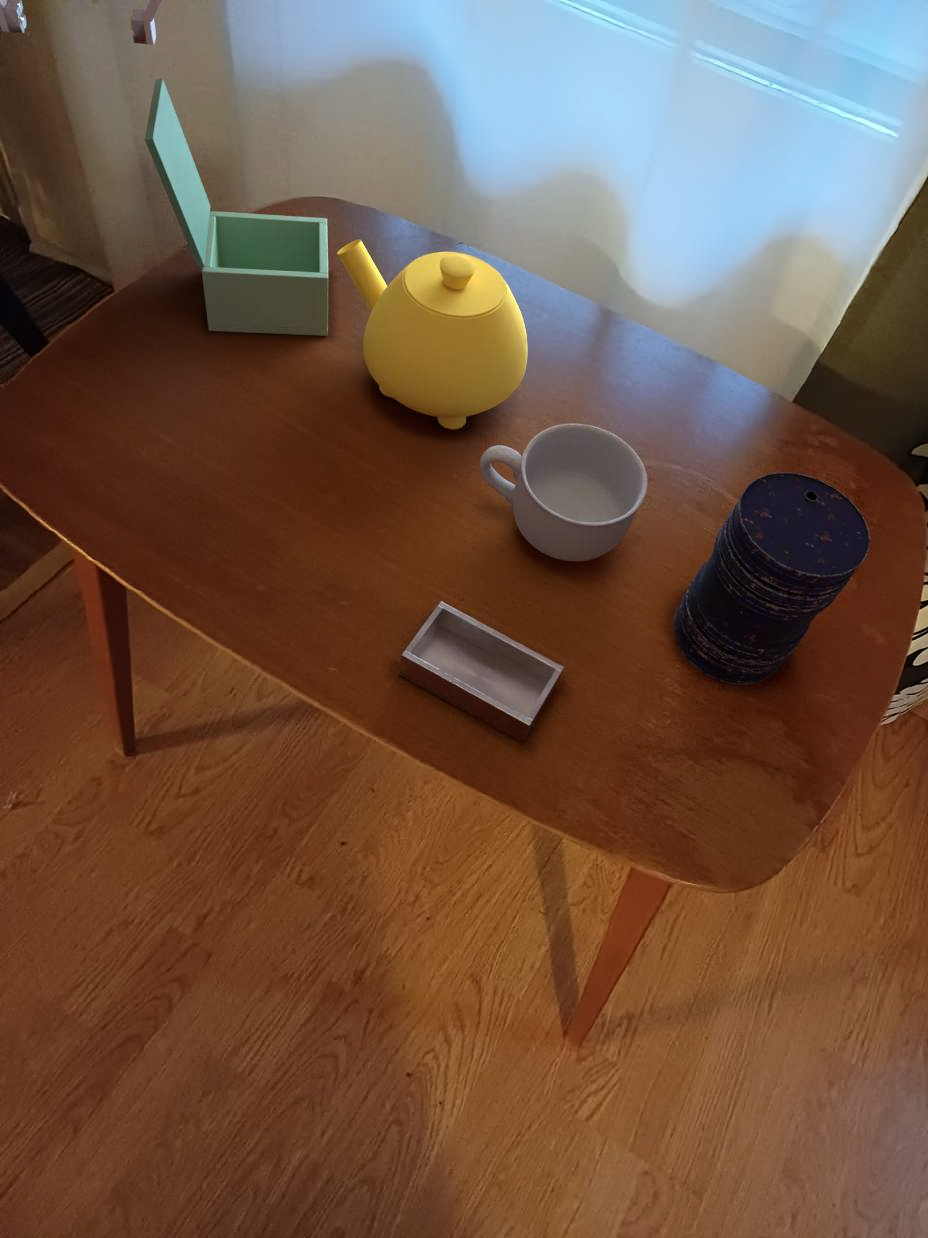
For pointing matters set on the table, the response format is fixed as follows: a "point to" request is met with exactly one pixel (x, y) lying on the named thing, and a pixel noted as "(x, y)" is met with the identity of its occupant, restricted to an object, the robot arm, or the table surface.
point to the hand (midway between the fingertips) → (80, 34)
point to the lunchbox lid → (178, 172)
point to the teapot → (441, 333)
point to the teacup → (571, 489)
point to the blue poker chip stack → (769, 576)
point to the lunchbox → (266, 274)
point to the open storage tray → (480, 671)
